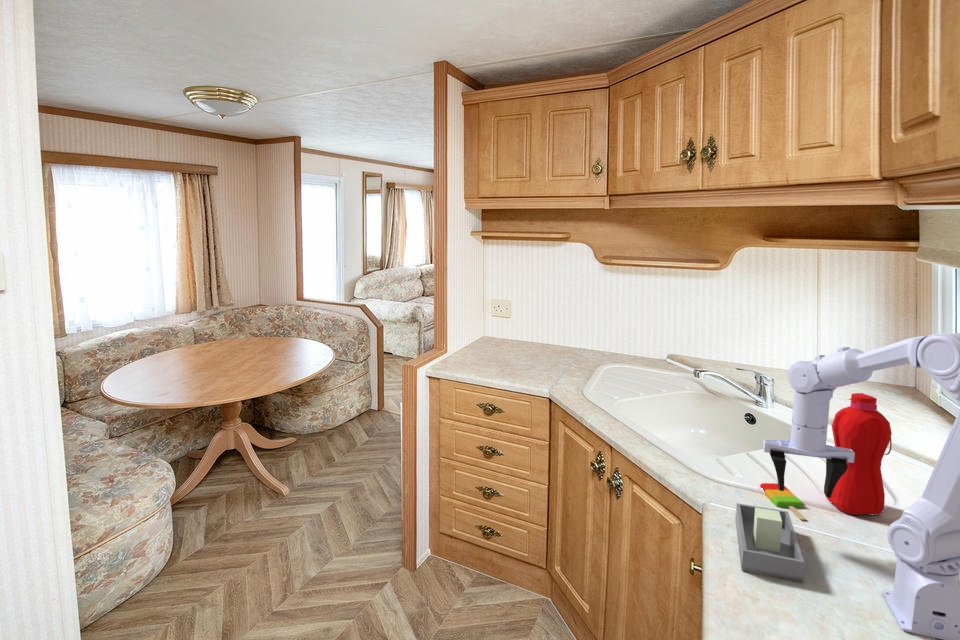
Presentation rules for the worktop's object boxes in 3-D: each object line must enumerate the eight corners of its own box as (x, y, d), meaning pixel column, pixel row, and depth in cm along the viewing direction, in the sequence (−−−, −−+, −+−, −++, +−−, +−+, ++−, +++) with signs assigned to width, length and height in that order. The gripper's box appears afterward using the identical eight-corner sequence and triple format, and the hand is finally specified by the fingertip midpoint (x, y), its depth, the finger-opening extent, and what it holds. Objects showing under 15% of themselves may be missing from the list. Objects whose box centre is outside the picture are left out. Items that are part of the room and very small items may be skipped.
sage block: (779, 552, 95) (782, 521, 95) (755, 547, 97) (757, 517, 96) (776, 541, 99) (779, 511, 98) (753, 536, 101) (755, 507, 100)
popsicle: (782, 490, 122) (782, 482, 122) (818, 524, 108) (818, 515, 107) (757, 489, 123) (758, 482, 123) (789, 523, 108) (790, 515, 108)
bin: (802, 583, 88) (804, 562, 87) (741, 570, 92) (743, 550, 91) (786, 529, 105) (788, 511, 104) (735, 520, 108) (736, 503, 108)
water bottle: (899, 518, 108) (912, 401, 105) (843, 517, 109) (854, 400, 106) (870, 497, 117) (881, 389, 114) (818, 496, 118) (828, 388, 115)
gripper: (849, 421, 99) (843, 489, 101) (763, 412, 105) (758, 477, 107) (860, 433, 93) (853, 505, 95) (767, 424, 98) (762, 492, 100)
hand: (803, 491), depth 100 cm, fingers open, 7 cm apart
